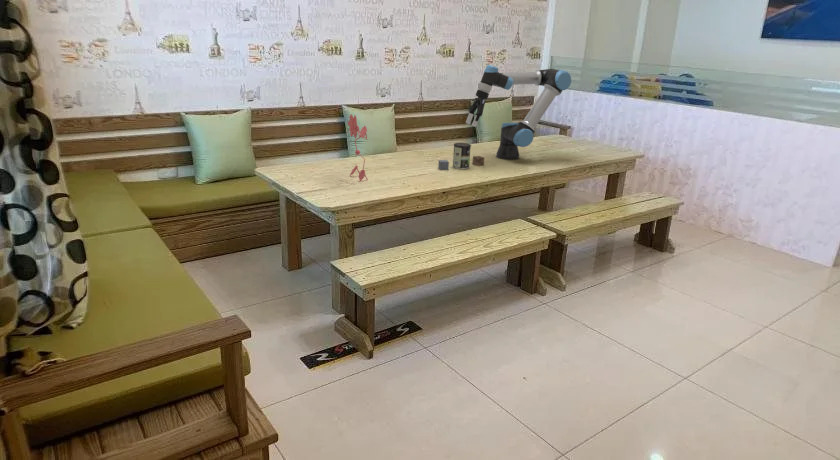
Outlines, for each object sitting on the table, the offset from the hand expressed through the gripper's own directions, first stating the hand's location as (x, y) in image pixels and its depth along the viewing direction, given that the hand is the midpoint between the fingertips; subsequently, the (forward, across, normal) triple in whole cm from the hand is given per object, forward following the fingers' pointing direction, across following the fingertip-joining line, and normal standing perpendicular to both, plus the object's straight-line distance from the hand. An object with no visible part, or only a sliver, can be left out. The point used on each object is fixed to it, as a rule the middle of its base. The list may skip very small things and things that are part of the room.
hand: (470, 125), depth 332 cm
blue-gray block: (+30, +11, -10) cm, 33 cm away
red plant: (+49, +32, -62) cm, 85 cm away
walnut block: (+21, 0, +14) cm, 25 cm away
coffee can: (+26, +7, +2) cm, 27 cm away
